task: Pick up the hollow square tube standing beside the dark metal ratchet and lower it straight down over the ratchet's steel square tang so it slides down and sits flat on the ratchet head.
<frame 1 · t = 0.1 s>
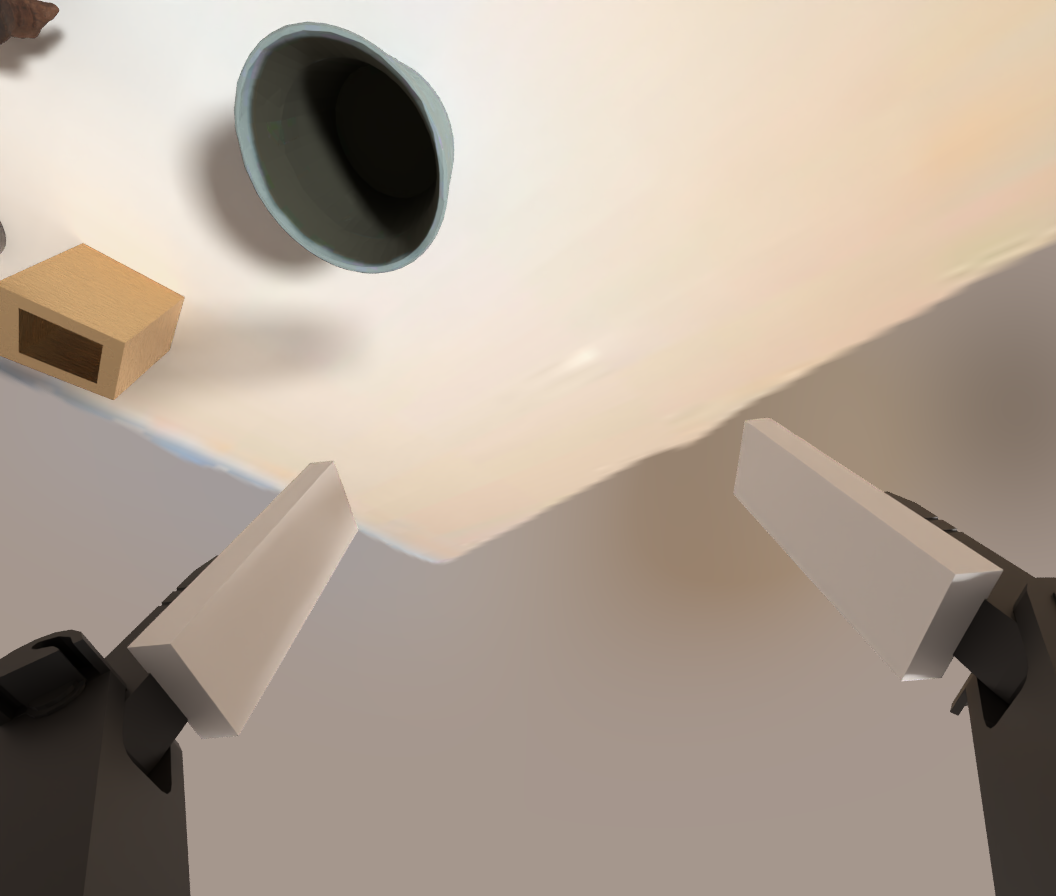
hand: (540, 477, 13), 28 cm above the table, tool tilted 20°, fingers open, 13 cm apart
grey green cup: (392, 135, 28), on the table
hollow square tube: (130, 301, 36), on the table
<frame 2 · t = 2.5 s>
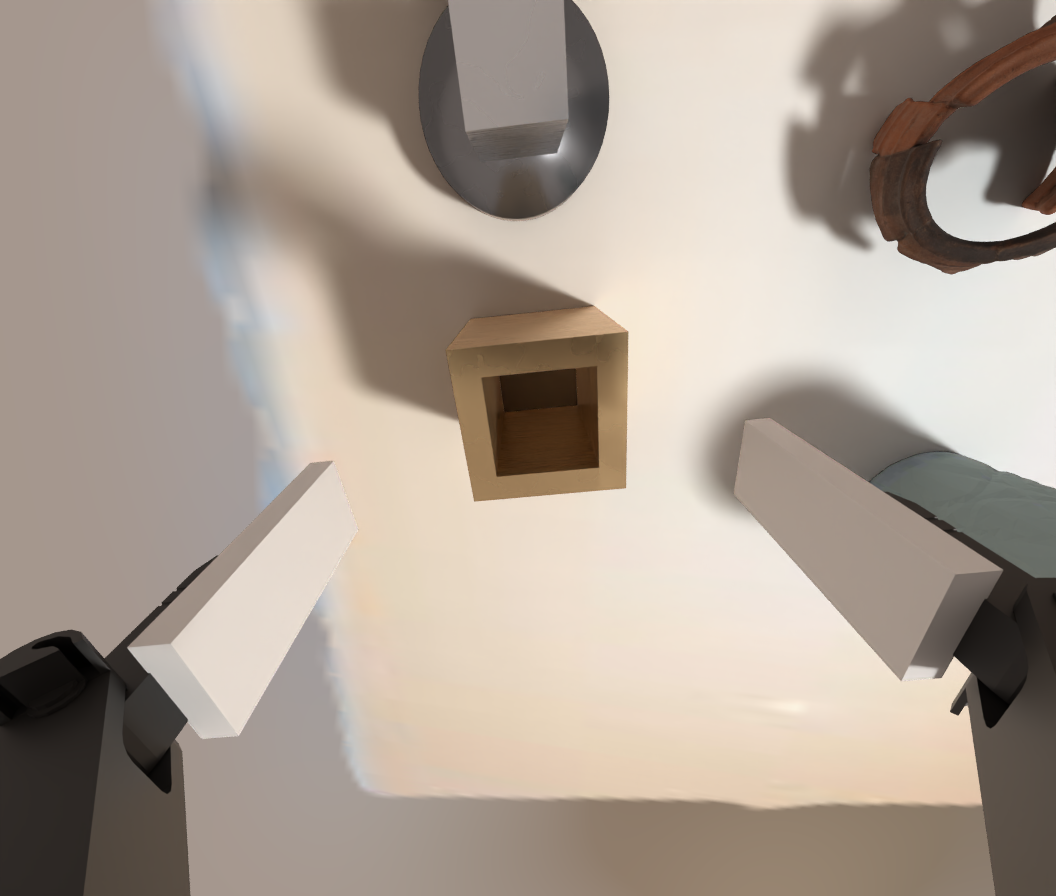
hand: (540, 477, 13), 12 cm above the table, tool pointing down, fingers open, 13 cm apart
ring-shaped clay flask: (966, 137, 19), on the table
grey green cup: (911, 499, 28), on the table
hollow square tube: (537, 373, 24), on the table
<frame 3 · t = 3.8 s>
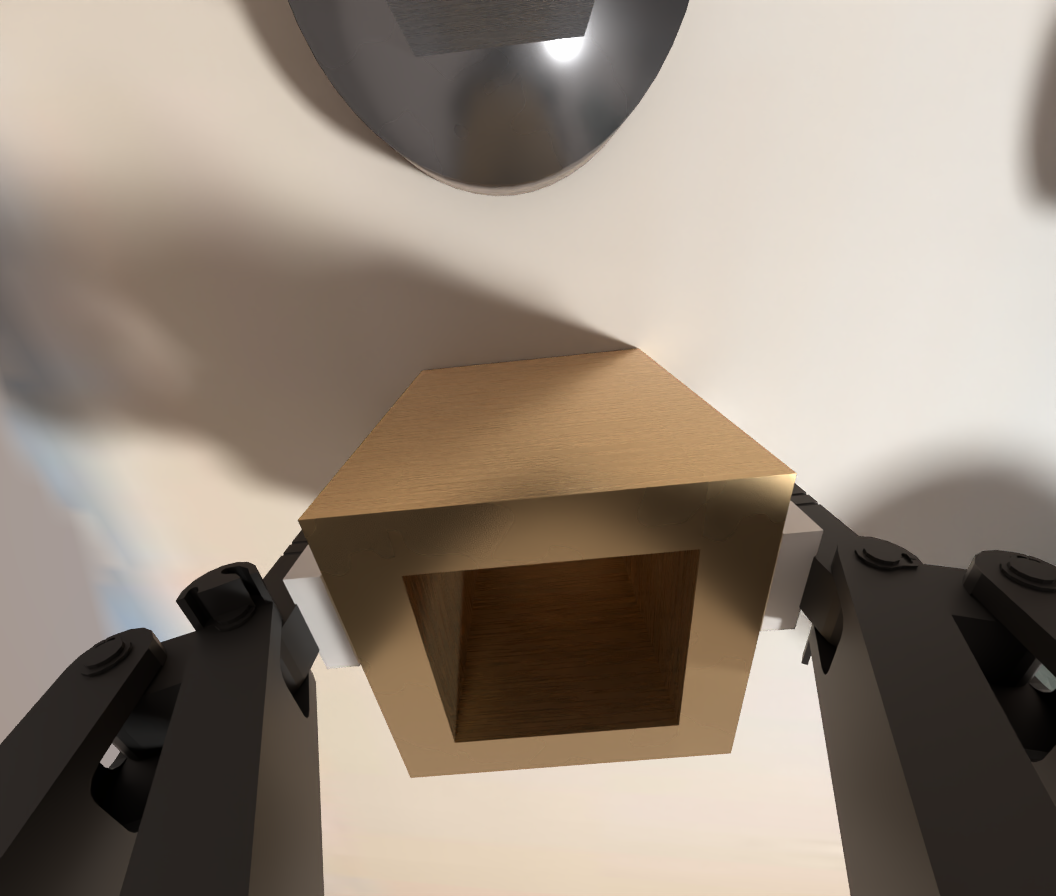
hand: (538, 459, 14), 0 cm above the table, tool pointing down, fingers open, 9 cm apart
hollow square tube: (538, 455, 14), on the table
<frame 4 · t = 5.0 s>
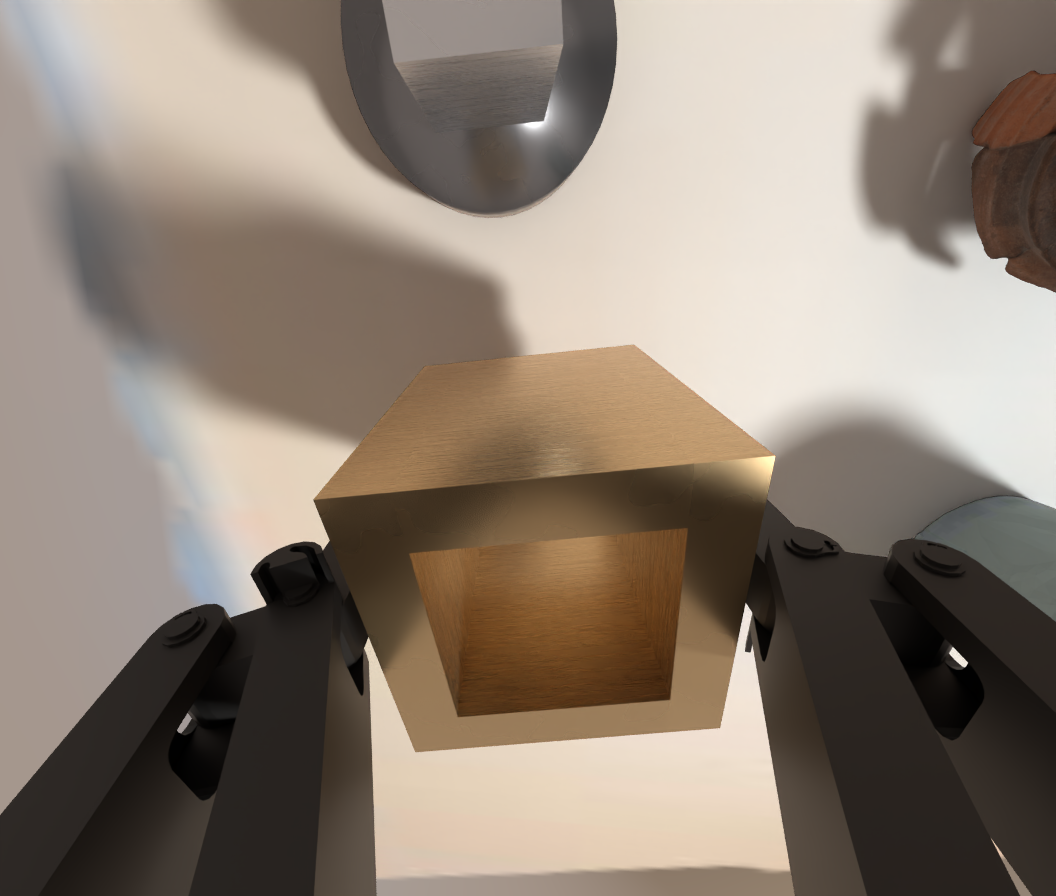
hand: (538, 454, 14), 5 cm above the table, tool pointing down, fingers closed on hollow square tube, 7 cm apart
grey green cup: (967, 548, 24), on the table
hollow square tube: (537, 449, 15), point 4 cm above the table, touching gripper
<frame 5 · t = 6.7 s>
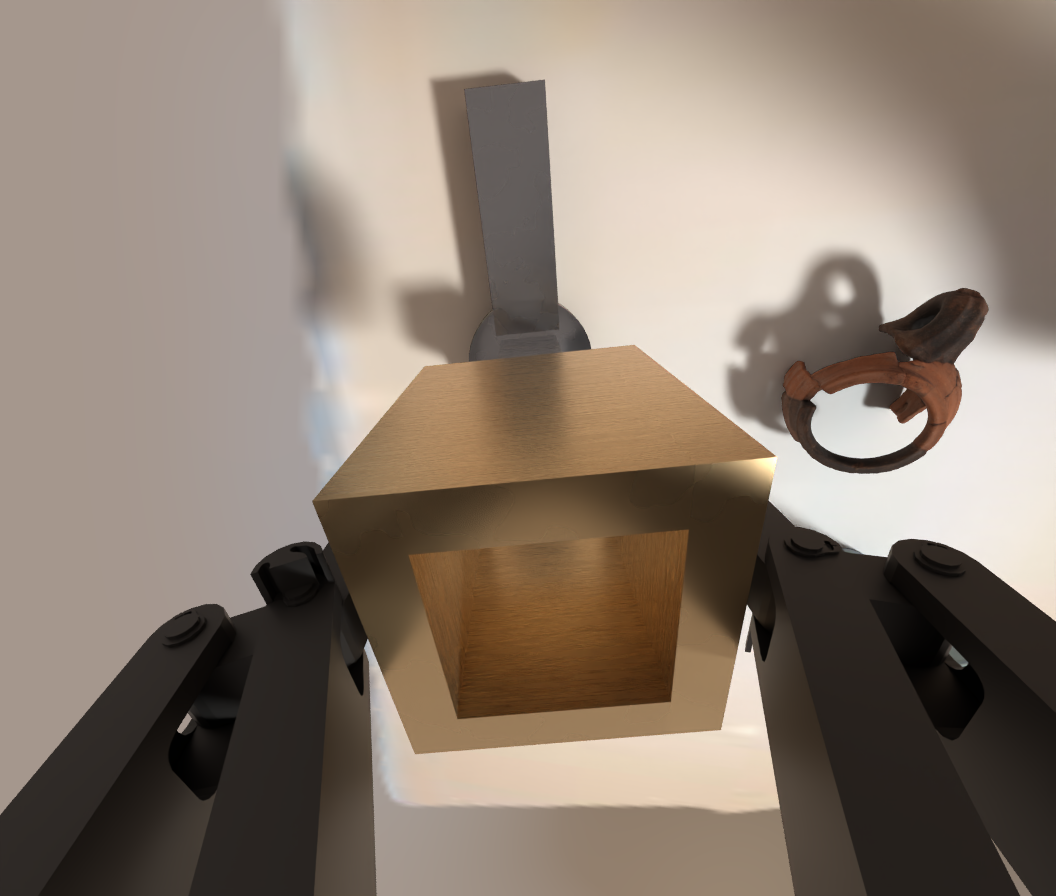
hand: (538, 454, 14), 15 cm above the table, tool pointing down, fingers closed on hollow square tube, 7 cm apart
ring-shaped clay flask: (847, 370, 29), on the table
ratchet: (521, 262, 25), on the table
hollow square tube: (537, 449, 15), point 14 cm above the table, touching gripper
when the fingers open (3 cm above the table, at t = 8.8 s): hollow square tube stays where it is, resting on ratchet.
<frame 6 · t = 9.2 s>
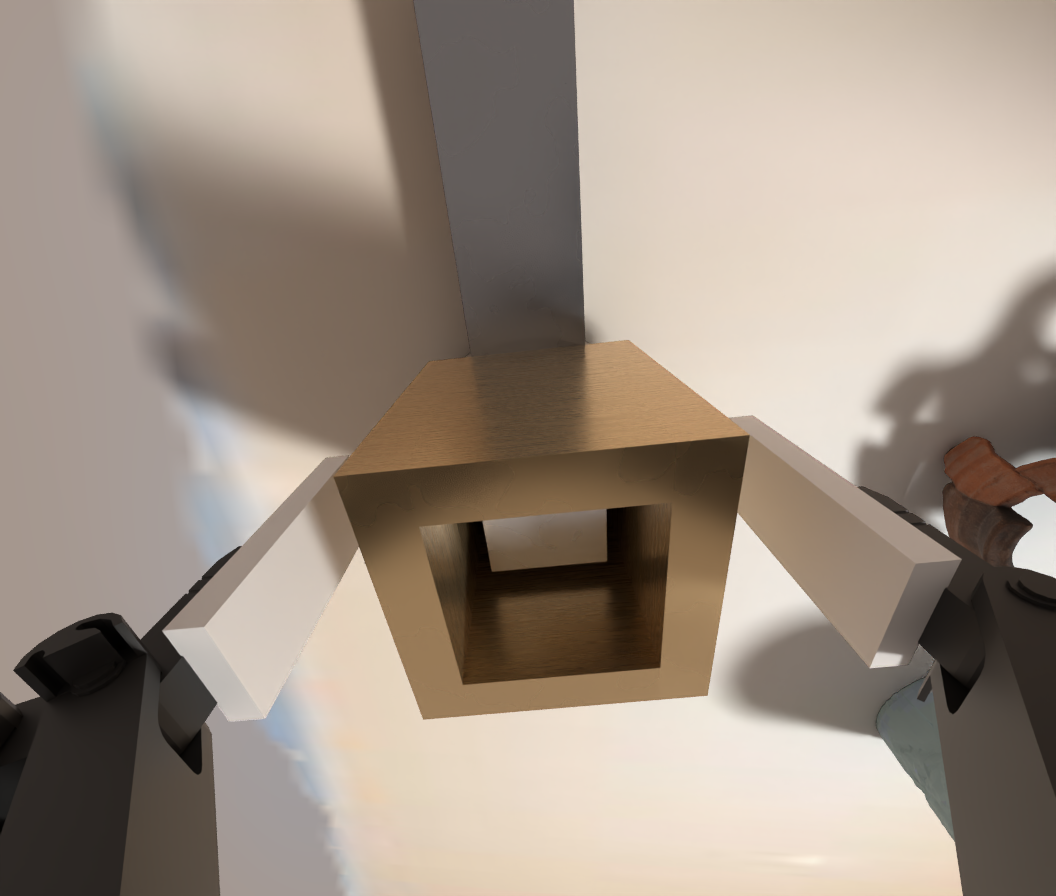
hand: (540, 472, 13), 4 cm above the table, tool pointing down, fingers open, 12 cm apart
ring-shaped clay flask: (1038, 445, 19), on the table
grey green cup: (939, 702, 27), on the table
ratchet: (520, 271, 14), on the table
hollow square tube: (537, 440, 15), point 2 cm above the table, touching ratchet
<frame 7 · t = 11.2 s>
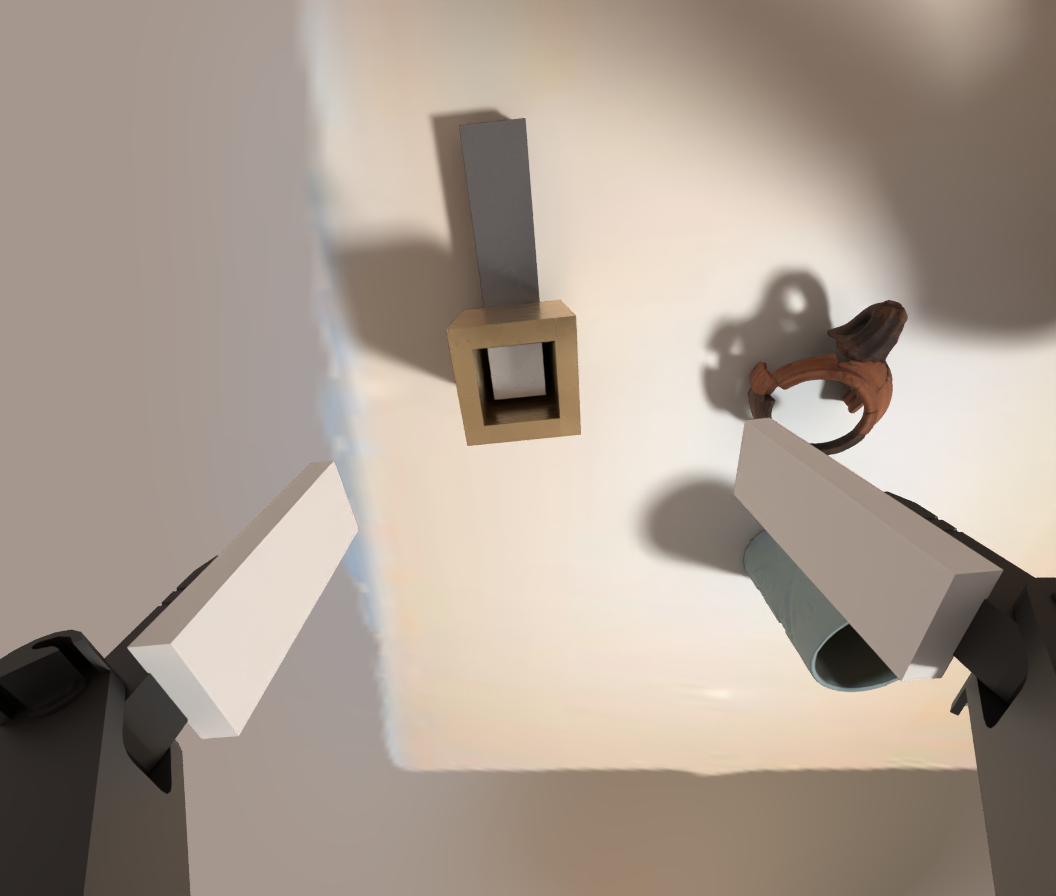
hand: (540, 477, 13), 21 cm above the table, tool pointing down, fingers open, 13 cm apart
ring-shaped clay flask: (804, 369, 33), on the table
grey green cup: (783, 549, 42), on the table
ratchet: (508, 266, 29), on the table
hollow square tube: (517, 353, 30), point 2 cm above the table, touching ratchet
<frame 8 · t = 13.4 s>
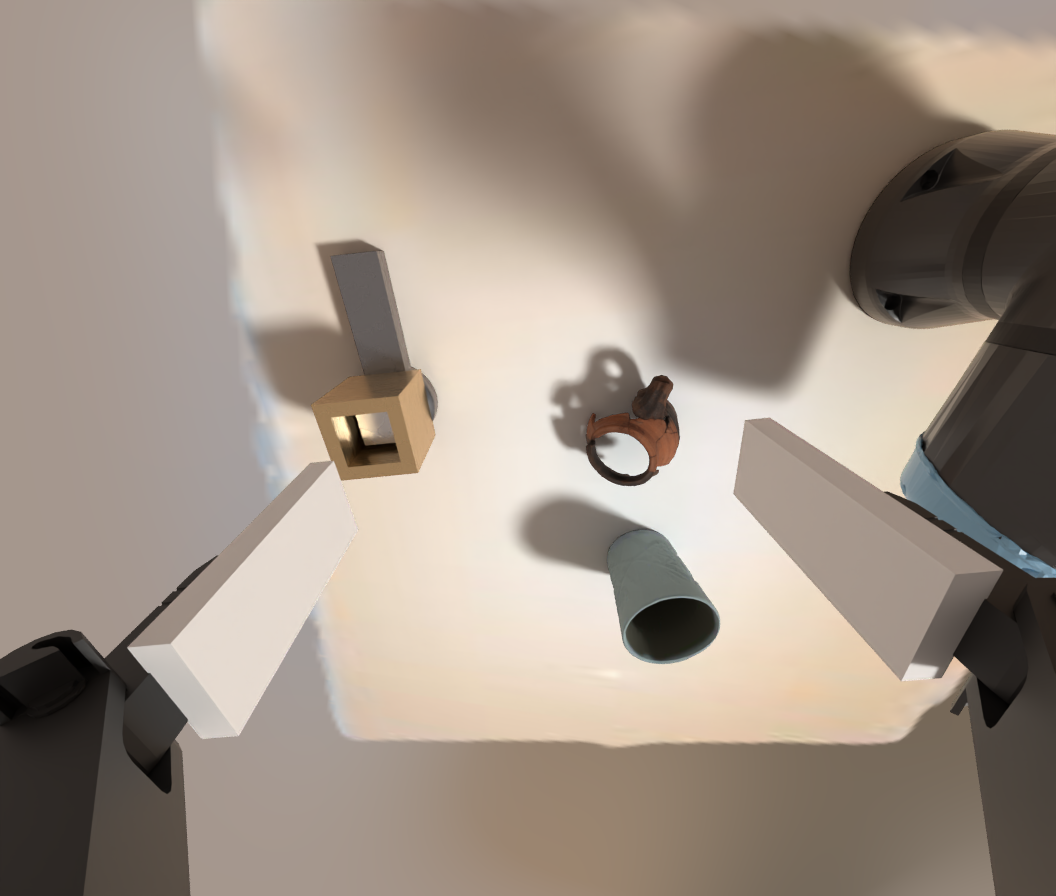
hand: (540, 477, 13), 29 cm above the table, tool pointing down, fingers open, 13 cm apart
ring-shaped clay flask: (631, 416, 43), on the table
grey green cup: (639, 552, 52), on the table
ratchet: (384, 343, 39), on the table
hollow square tube: (394, 406, 40), point 2 cm above the table, touching ratchet
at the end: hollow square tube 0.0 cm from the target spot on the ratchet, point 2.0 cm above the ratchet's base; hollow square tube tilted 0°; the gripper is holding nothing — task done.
